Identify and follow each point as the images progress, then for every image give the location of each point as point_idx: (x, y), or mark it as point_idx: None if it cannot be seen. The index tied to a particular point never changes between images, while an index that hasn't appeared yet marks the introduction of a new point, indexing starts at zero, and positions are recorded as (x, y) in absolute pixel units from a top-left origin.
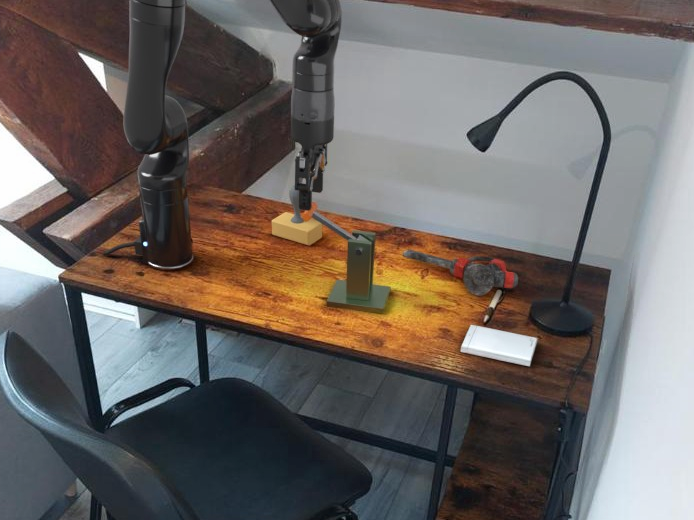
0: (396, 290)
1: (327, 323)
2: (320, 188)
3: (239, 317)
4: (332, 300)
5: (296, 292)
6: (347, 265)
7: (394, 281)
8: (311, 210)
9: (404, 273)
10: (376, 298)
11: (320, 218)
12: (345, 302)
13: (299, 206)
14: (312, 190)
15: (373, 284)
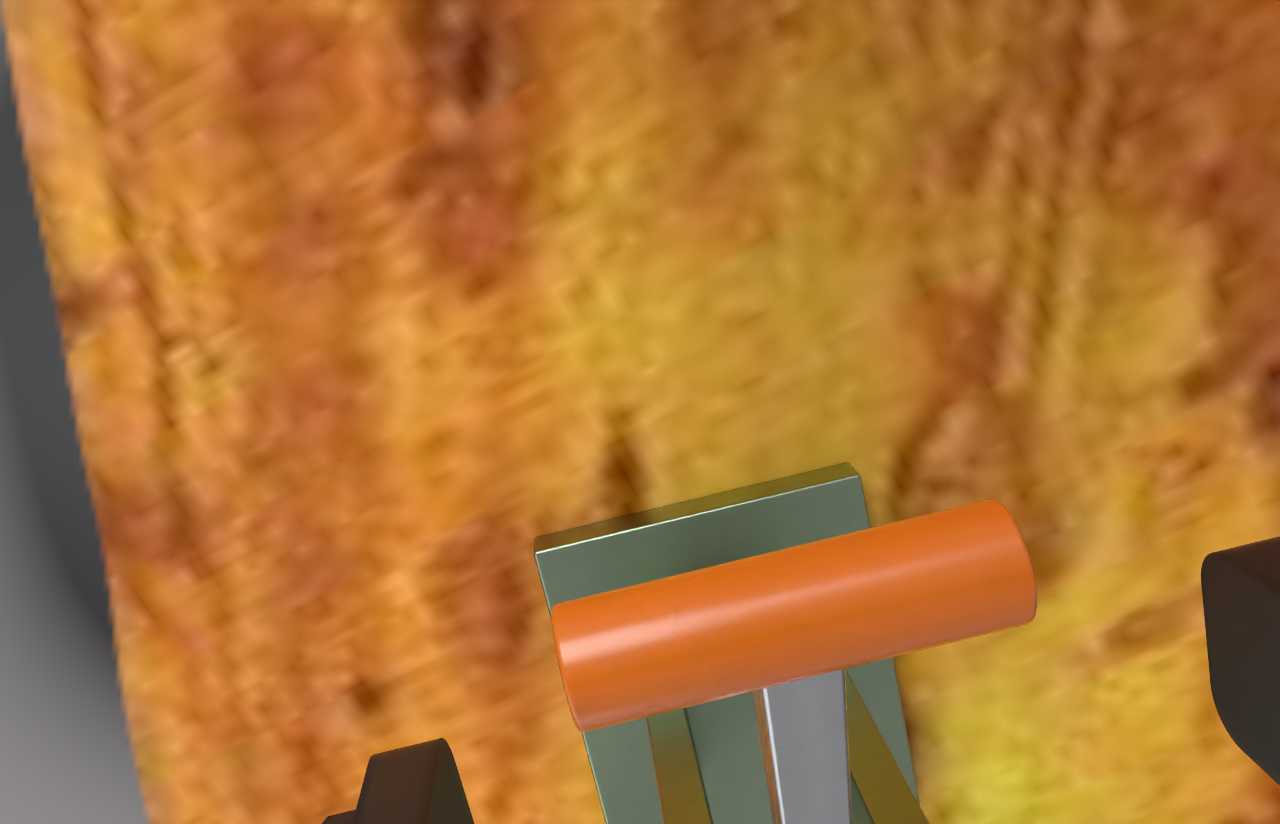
0: (945, 818)
1: (334, 640)
2: (1261, 748)
3: (48, 62)
4: (557, 585)
5: (607, 259)
6: (659, 798)
7: (1056, 762)
8: (743, 689)
9: (1188, 771)
10: (726, 811)
11: (765, 740)
12: None
13: (368, 779)
14: (1213, 584)
15: (901, 717)
